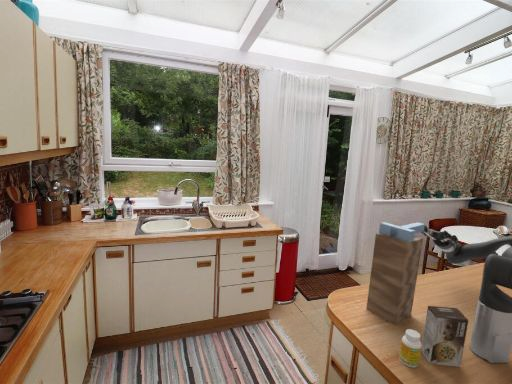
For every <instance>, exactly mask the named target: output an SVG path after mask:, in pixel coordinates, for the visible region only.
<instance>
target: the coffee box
mask: <svg viewBox="0 0 512 384" xmlns="http://www.w3.org/2000/svg"><path fill="white" fill-rule="evenodd" d="M468 325H469V319H468V318H467V317H466V316H465V314H463V313H462V311H460V310H459V308H457V307H449V306H447V307H446V306H436V305H435V306H434V305H428V306H427V311H426V317H425V323H424V329H423V335H422V340H421V343H422V348H421V353H422V354H423V355H424V357H425V358H426V360H427V361H428V363H429V364H430V365H440V366H449V367H457V368H458V367H459V368H460V367H461V365H462V359H463V353H464V347H465V341H466V338H467V336H466V335H467V331H468Z"/></svg>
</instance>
